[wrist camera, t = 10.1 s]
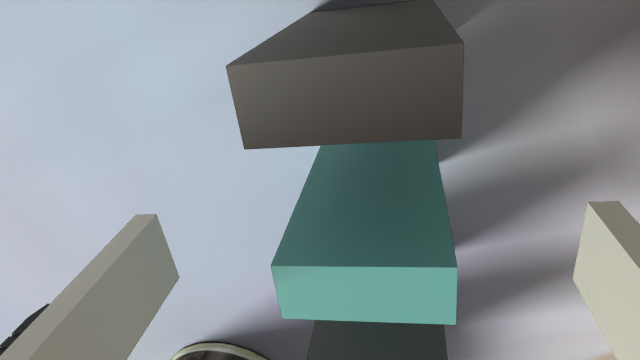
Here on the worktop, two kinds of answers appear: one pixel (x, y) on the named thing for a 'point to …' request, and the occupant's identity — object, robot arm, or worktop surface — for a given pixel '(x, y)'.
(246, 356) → the coffee can
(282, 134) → the domino
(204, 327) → the worktop surface
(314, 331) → the domino
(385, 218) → the teal domino
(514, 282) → the worktop surface
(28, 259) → the worktop surface
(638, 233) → the robot arm
